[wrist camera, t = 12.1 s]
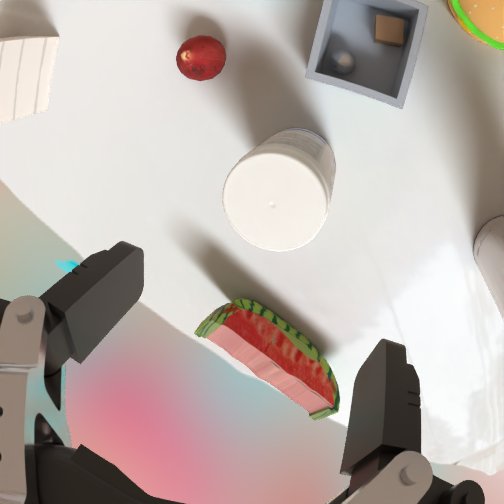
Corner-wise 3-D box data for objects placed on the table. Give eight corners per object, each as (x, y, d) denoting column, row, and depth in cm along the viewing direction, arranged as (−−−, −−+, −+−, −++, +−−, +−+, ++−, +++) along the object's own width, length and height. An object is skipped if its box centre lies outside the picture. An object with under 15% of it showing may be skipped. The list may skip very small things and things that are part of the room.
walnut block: (399, 25, 25) (403, 19, 23) (399, 47, 27) (403, 44, 24) (374, 20, 26) (376, 14, 24) (373, 42, 28) (375, 38, 25)
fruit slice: (217, 296, 54) (192, 335, 46) (238, 276, 50) (213, 316, 42) (323, 379, 57) (314, 421, 48) (347, 367, 53) (341, 411, 45)
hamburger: (522, 64, 22) (556, 64, 15) (442, 40, 25) (464, 29, 18) (513, -14, 16) (541, -29, 9) (432, -40, 19) (447, -66, 12)
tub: (415, 19, 25) (428, 6, 19) (393, 106, 31) (402, 109, 26) (334, -6, 26) (329, -25, 21) (313, 79, 33) (304, 77, 27)
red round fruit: (238, 76, 35) (211, 74, 29) (197, 84, 37) (165, 86, 31) (231, 35, 33) (203, 25, 26) (191, 45, 34) (157, 40, 28)
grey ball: (357, 56, 29) (358, 53, 27) (352, 77, 31) (352, 76, 28) (334, 49, 30) (332, 46, 27) (328, 70, 31) (326, 69, 29)
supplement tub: (248, 152, 40) (198, 186, 28) (308, 112, 35) (282, 125, 23) (291, 211, 42) (260, 269, 30) (351, 177, 37) (349, 224, 25)
